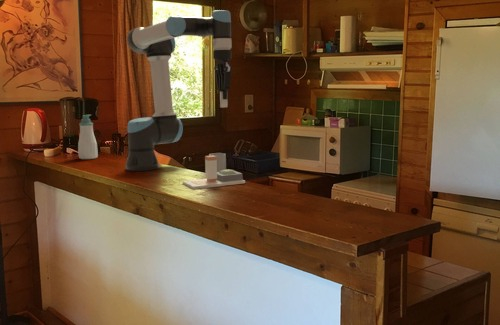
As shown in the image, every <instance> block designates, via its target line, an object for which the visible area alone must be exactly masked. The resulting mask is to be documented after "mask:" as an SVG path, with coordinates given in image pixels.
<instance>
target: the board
mask: <svg viewBox="0 0 500 325" xmlns="http://www.w3.org/2000/svg"><path fill="white" fill-rule="evenodd" d="M243 178H244V177H243V173H241V172H239V171H236V170H234V174H227V175H223V174H221V172H217V179H216V181H215V182H208V181H207V178H202V179H195V180H194V179H193V180H186V181H185V180H184V181H182V184H183V185H184V186H186V187H188V188H190V189H192V190H198V189H207V188H216V187H224V186H232V185H233V186H234V185H242V184H246V180H244V179H243Z"/></svg>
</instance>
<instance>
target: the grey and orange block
mask: <svg viewBox="0 0 500 325" xmlns="http://www.w3.org/2000/svg"><path fill="white" fill-rule="evenodd" d="M204 164H205V165H204V166H205V167H204V168H205V179H207V181H208V182H215V181H216V179H217V157H216V156H213V155H212V156H209V155H204Z"/></svg>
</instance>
